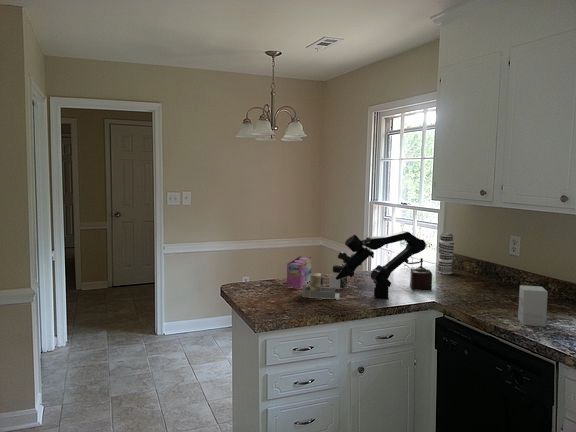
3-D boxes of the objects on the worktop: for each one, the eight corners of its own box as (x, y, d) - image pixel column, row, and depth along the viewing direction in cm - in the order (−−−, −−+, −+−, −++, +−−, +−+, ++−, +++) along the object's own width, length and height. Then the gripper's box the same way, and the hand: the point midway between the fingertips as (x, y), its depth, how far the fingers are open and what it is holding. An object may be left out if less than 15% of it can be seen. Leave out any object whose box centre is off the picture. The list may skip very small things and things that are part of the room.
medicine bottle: (340, 289, 247) (340, 267, 246) (328, 287, 251) (329, 265, 250) (347, 287, 253) (347, 265, 251) (335, 285, 257) (336, 263, 256)
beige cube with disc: (322, 292, 236) (322, 273, 235) (321, 296, 230) (322, 276, 229) (311, 292, 237) (311, 273, 236) (310, 295, 231) (310, 275, 230)
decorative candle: (449, 271, 297) (451, 232, 294) (455, 274, 288) (457, 234, 285) (435, 270, 297) (437, 232, 294) (440, 274, 287) (442, 234, 285)
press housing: (339, 294, 237) (339, 281, 236) (339, 300, 227) (339, 286, 226) (304, 293, 239) (304, 280, 238) (302, 298, 229) (302, 285, 229)
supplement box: (540, 320, 200) (542, 286, 198) (546, 327, 191) (548, 291, 189) (517, 318, 202) (519, 284, 200) (522, 325, 193) (524, 289, 192)
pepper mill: (428, 285, 258) (430, 253, 256) (432, 290, 247) (433, 257, 245) (400, 284, 260) (401, 252, 258) (402, 289, 249) (403, 256, 247)
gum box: (299, 278, 271) (299, 255, 270) (312, 280, 269) (312, 256, 268) (286, 288, 249) (286, 263, 247) (300, 290, 246) (300, 264, 245)
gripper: (347, 242, 238) (325, 263, 241) (347, 249, 220) (323, 271, 222) (362, 258, 238) (340, 279, 241) (364, 266, 220) (340, 288, 222)
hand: (336, 278), depth 231 cm, fingers closed
